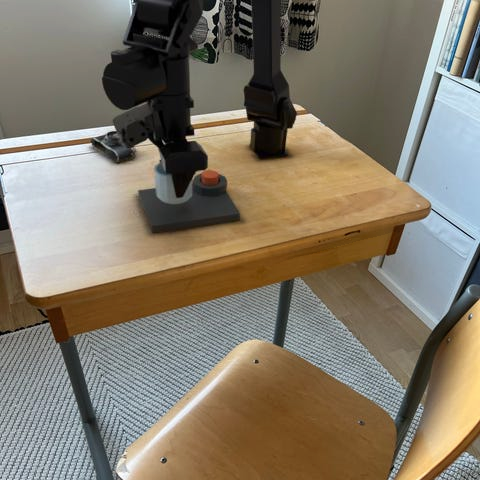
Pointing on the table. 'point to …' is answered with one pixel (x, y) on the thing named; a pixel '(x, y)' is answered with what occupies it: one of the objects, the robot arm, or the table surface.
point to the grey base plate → (190, 207)
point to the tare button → (210, 177)
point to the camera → (112, 147)
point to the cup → (169, 187)
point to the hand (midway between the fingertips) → (174, 187)
